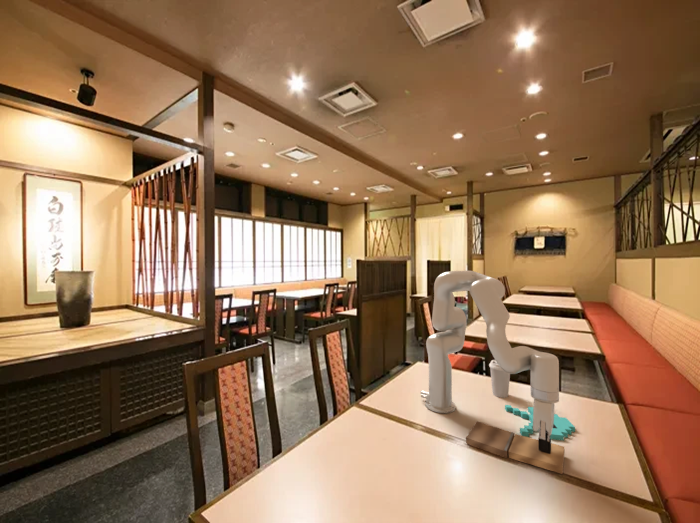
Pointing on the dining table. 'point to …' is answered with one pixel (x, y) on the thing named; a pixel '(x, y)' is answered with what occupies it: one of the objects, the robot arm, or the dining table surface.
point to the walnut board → (490, 439)
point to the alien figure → (559, 426)
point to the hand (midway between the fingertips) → (544, 450)
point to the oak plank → (537, 454)
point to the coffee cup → (499, 380)
